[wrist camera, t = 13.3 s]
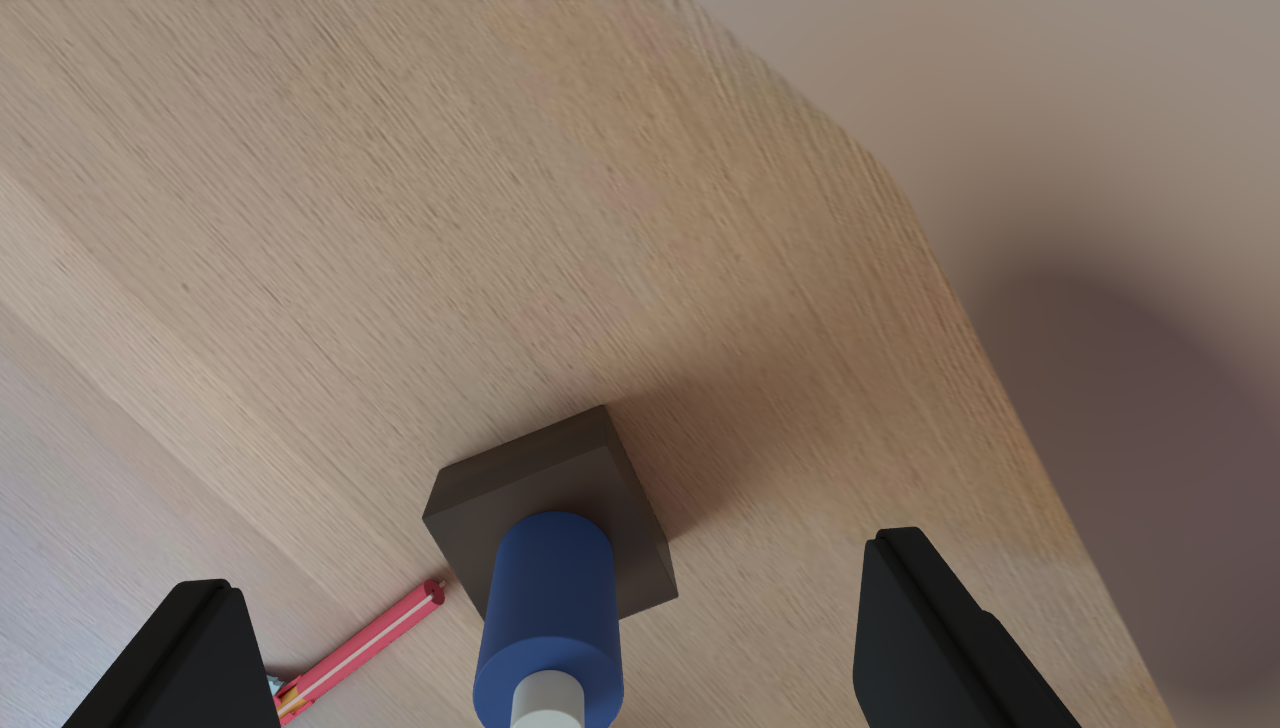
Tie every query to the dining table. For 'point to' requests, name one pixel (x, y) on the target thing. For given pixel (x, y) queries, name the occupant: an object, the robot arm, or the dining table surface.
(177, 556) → the dining table surface
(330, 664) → the pink long slotted bar
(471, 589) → the block
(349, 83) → the dining table surface
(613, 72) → the dining table surface
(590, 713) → the bottle
